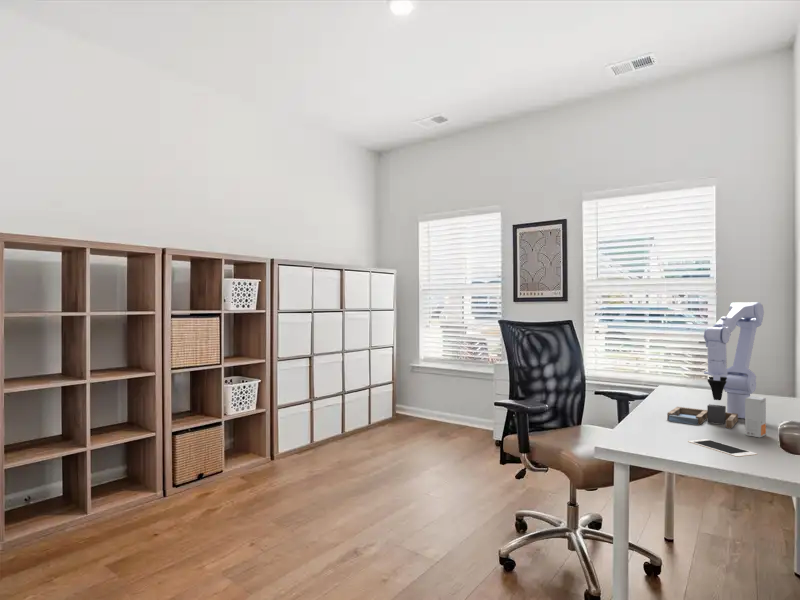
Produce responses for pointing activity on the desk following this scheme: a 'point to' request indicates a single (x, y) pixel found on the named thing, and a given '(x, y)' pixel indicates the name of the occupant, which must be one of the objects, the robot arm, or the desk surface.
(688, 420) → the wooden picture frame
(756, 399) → the skincare box
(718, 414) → the tall grey box
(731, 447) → the cell phone
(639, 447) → the desk surface
